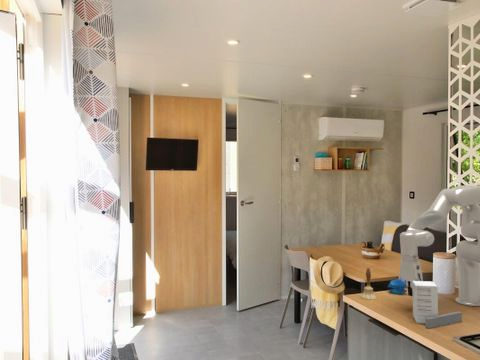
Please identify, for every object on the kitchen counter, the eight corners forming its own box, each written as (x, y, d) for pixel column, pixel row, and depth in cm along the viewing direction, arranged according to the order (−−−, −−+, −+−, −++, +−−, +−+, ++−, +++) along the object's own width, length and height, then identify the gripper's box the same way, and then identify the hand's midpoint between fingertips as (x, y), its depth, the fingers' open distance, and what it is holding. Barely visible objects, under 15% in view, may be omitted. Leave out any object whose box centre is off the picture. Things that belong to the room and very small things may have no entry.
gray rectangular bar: (458, 320, 179) (458, 311, 179) (461, 321, 178) (461, 312, 178) (425, 327, 172) (425, 318, 172) (428, 328, 170) (428, 319, 170)
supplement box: (438, 324, 174) (438, 286, 174) (416, 323, 177) (415, 285, 177) (434, 317, 184) (433, 281, 183) (412, 316, 186) (411, 280, 186)
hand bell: (380, 298, 214) (379, 268, 214) (368, 300, 210) (368, 270, 210) (368, 294, 221) (368, 265, 221) (357, 296, 217) (356, 267, 217)
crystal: (386, 278, 228) (408, 275, 224) (389, 293, 227) (412, 290, 223) (385, 281, 221) (408, 278, 217) (389, 297, 221) (412, 294, 216)
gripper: (427, 259, 187) (430, 297, 187) (403, 254, 201) (406, 290, 201) (415, 261, 184) (418, 300, 185) (392, 256, 198) (394, 292, 198)
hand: (411, 295), depth 193 cm, fingers closed
